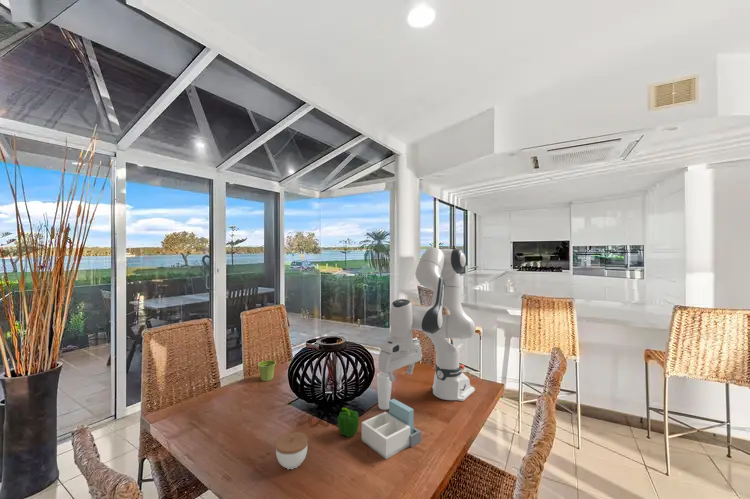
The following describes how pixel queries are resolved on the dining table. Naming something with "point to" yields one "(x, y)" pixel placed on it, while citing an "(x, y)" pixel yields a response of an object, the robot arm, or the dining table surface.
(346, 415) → the bell pepper
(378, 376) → the drinking glass
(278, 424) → the dining table surface
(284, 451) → the lidded jar
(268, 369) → the plant pot
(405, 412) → the door
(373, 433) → the cabinet
